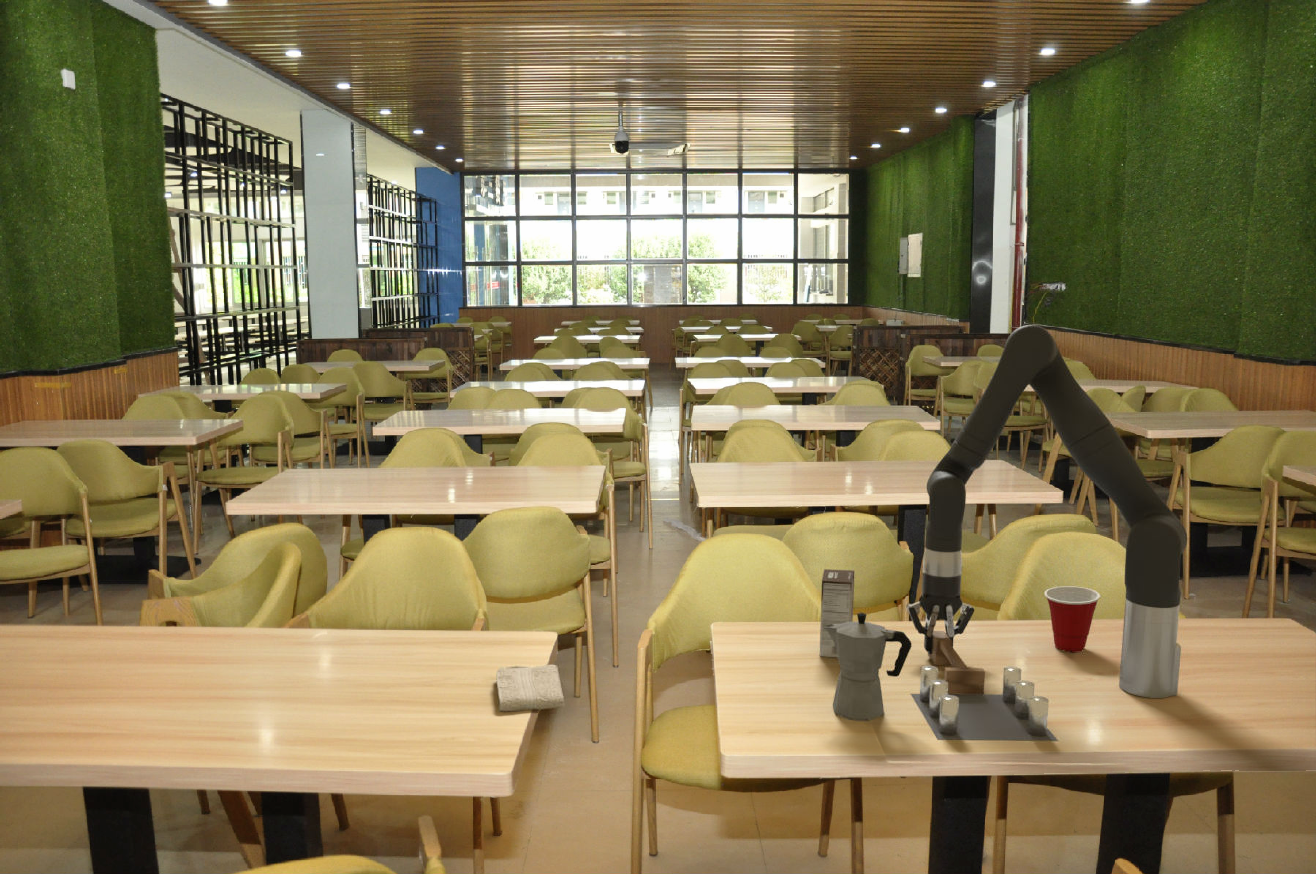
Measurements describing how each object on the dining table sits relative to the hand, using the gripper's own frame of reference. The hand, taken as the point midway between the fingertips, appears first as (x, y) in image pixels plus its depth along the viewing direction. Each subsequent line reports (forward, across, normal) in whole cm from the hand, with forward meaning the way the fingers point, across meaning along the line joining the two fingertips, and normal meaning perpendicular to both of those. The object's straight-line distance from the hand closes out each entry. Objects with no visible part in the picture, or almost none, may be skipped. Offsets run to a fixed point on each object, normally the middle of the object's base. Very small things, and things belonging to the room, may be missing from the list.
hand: (938, 652), depth 220 cm
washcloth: (+2, +80, +20) cm, 83 cm away
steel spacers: (+1, 0, +30) cm, 30 cm away
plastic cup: (+1, -29, -7) cm, 30 cm away
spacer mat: (+1, 0, +30) cm, 30 cm away
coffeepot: (+1, +20, +28) cm, 34 cm away
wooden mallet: (+1, 0, +9) cm, 9 cm away
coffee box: (+1, +20, -4) cm, 20 cm away
